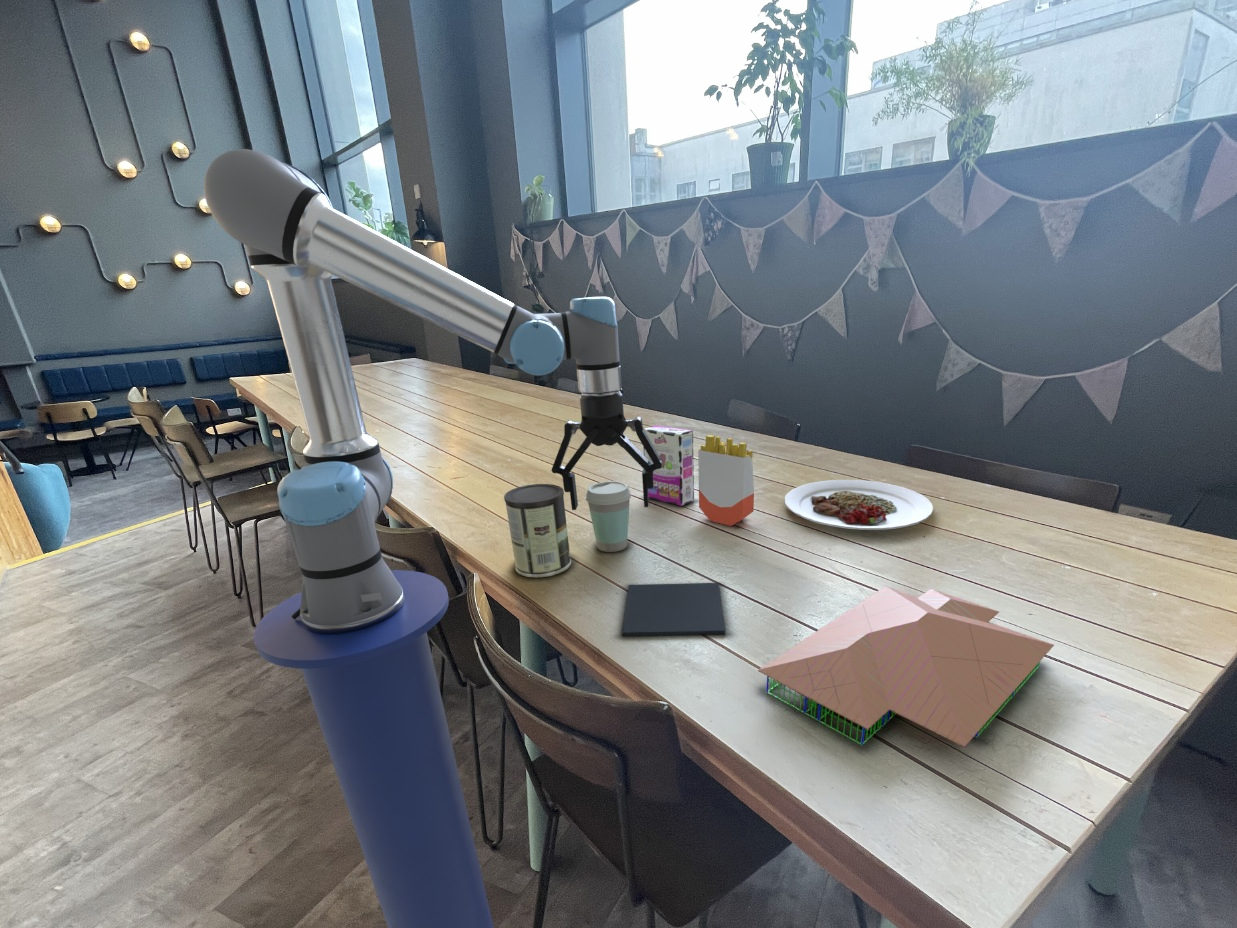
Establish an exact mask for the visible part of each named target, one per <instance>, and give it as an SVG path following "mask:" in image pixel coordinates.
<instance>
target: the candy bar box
mask: <svg viewBox="0 0 1237 928" xmlns="http://www.w3.org/2000/svg"><path fill="white" fill-rule="evenodd" d="M643 429H644V431H645V432H646V434H647V436H648V437H649V439H650V441H651V443H652V444H653V446H654V448H655V450H656V451H657V453H658V455H659V457H660V458H661V460H662V467H661V469H656V470H654V471H653V481H654V485H653V489H648V498H649V499H651V500H654V501H659V502H663V503H668V504H671V505H676V506H680V507H683V506H685V505H687V504H690V503H693V502H695V478H694V477H695V476H694V475H695V474H694V473H695V471H694V470H695V469H694V468H695V467H694V430H691V429H684V428H676V427H670V426H663V425H652V426H649V427H646V428H643ZM642 448H643V455H644V456H645V457H646V458H647V459H648V460H649V461H650V462H652V460H651V458H650V457H649V455H648V453H647V451H646V450H645V448H644V446H643V445H642Z"/></svg>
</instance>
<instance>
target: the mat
mask: <svg viewBox="0 0 1237 928" xmlns="http://www.w3.org/2000/svg"><path fill="white" fill-rule="evenodd" d="M621 635H622V637H642V636H643V637H645V636H646V637H647V636H649V637H650V636H693V635H695V636H698V635H699V636H700V635H702V636H703V635H726V625H725V618H724V611H723V603H722V597H721V589H720V583H719V582H695V583H693V582H692V583H691V582H690V583H689V582H688V583H650V584H647V583H646V584H645V583H644V584H628V590H627V597H626V604H625V611H624V617H623V623H622V630H621Z"/></svg>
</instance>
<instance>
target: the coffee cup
mask: <svg viewBox="0 0 1237 928" xmlns="http://www.w3.org/2000/svg"><path fill="white" fill-rule="evenodd" d="M631 498H632V493H631V490H630V489H629V486H628V484H626V483H625V482H622V481H616V480H615V481H613V480H611V481H610V480H609V481H608V480H607V481H601V482H595V483H593V484H591V485H589V486H588V487H587V491H586V494H585V501H586V502H587V505H588V509H589V514H590V518H591V519H590V520H591V523H592V528H593V532H594V538H595V542H596V547H597V549H598V550H599V551H601V552H605V553H616V552H620V551H622V550H625V549H626V548H627V547H628V540H629V539H628V537H629V520H630V502H631V501H630V499H631Z"/></svg>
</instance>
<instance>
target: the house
mask: <svg viewBox="0 0 1237 928" xmlns="http://www.w3.org/2000/svg"><path fill="white" fill-rule="evenodd" d="M999 613H1000V611H999V610H996V609H993V608H990V607H987V606H984V605H981V604H978V603H975V602H972V601H968V600H966V599H963V598H960V597H957V596H954V595H951V594H948V593H945V592H942V591H939V590H936V589H933V588H929V589H928V590H926V591H925V592H924V593H922V594H921V595H919V596H916V595H913V594H909V593H906V592H905V591H904V592H903V591H901V590H898V589H895V588H893V587H890V586H887V585H884V586H883V587H882V588H880V589H878V590H877V591H876V592H874V593H872V594H871V595H869V596H868V597H866V598H865V599H863V600H862V601H861V602H859V603H857V604H855V605H854V606H853V607H852V608H850V609H848V610H847V611H845V612H844V613H842V614H841V615H839V616H838V617H836V618H835V619H833V620H832V621H830V622H829V623H826V624H825V625H824V626H822V627H821V628H819V629H818V630H816V631H815V632H813V633H812V634H810V635H808V636H807V637H805V638H804V639H802V640H801V641H800V642H798V643H797V644H795V645H794V646H791V648H789V649H788V650H786V651H785V652H783V653H782V654H780V655H779V656H776V657H775V658H773V660H771V661H769V662H768V663H766V664H765V665H763V666H762V667H760V668H759V669H757V672H759V673H760V674H763V675H764V676H766V693H768V694H769V695H771V696H773V697H775V698H776V699H778V700H780V701H781V702H784V703H786V704H787V705H789V706H791V707H793V708H795V709H797V710H798V711H800V712H801V713H804V714H805V715H807V716H809V717H811V718H812V719H815V720H816V721H818V722H820V723H821V724H823V725H825V726H826V727H828V728H830V729H832V730H834V731H835V732H838V733H839V734H841V735H843V736H845V737H847V738H848V739H849V740H852V741H854V742H855V743H857V744H859V745H861V746H863V745H864V744H865V743H866V742H868V740H869V739H870V738H872V737H873V736H874V735H875V734H876V733H877V732H878V731H879V730H880V729H881V728H882V727H884V726H885V725H886V724H887V723H888V722H889V721H890V720H891V719H893V717H894V716H896V715H898V716H901V717H902V718H905V719H906V720H908V721H911V722H913V723H915V724H916V725H918V726H921V727H922V728H925V729H927V730H929V731H930V732H933V733H935V734H937V735H939V736H941V737H943V738H945V739H947V740H949V741H951V742H954V744H957V745H959V746H961V747H963V748H965V747H967V745H968V744H969V743H970V742H971V740H972V739H973V738H974V737H975V738H977V739H978V737H979V736H981V734H982V732H983V731H984V730H985V729H986V728H987V727H988V726H989V724H990V723H991V722H992V721H993V720H994V719H995V718H996V717H997V715H998V714H999V713H1000V712H1001V711H1002V710H1003V708H1005V706H1006V705H1007V704H1008V703H1009V702H1010V701H1011V699H1012V698H1013V697H1014V696H1015V695H1016V694H1017V692H1018V691H1019V690H1020V689H1021V688H1022V687H1023V686H1024V684H1025V683H1026V682H1027V681H1028V680H1029V679H1030V678H1031V676H1032V675H1033V674H1035V672H1036V671H1037V670H1038V668H1039V667H1040V665H1041V661H1042V660H1043V659H1044V658H1045V656H1046V655H1048V653H1049V652H1050V651H1051V650H1052V649H1053V648H1054V646H1055V644H1053V643H1050V642H1048V641H1045V640H1041V639H1039V638H1036V637H1033V636H1030V635H1027V634H1025V633H1022V632H1018V631H1016V630H1013V629H1010V628H1007V627H1004V626H1003V625H998V624H996V623H993V622H990V621H991V620H992V619H994V618H995V617H996V616H997V615H998V614H999ZM776 682H777V684H776ZM780 684H781V685H783V687H782V686H780ZM776 687H777V696H776V695H774V694H775V693H774V690H775V688H776ZM786 687H787V688H789V691H788V690H787V689H786ZM780 689H781V690H783V695H782V697H783V698H780ZM771 690H772V692H770V691H771ZM791 690H793V691H794V693H793V692H791ZM786 692H787V693H788V701H786V700H785V693H786ZM797 693H798V694H800V696H798V695H797ZM791 695H792V696H794V704H791ZM802 696H803V697H804V698H802ZM797 698H798V699H800V700H799V701H800V702H799V708H798V707H797V706H796V701H797V700H796V699H797ZM802 701H804V704H803V710H802ZM817 704H818V706H817ZM807 705H808V708H807ZM824 707H825V708H824ZM813 708H814V713H813ZM816 709H817V718H816ZM809 711H810V714H809V713H807V712H809ZM830 712H831V713H830ZM823 713H824V714H823ZM834 713H835V714H838V715H837V716H836V715H834ZM813 715H814V716H813ZM827 715H830V716H831V718H830V725H828V724H827ZM890 715H891V716H890ZM840 716H841V717H843V718H844V720H843V719H841V718H840ZM833 717H834V718H835V719H837V724H836V728H834V727H833ZM822 718H824V722H823V721H821V719H822ZM846 720H849V721H851V722H850V723H848V722H847V721H846ZM839 721H840V722H842V723H843V730H842V731H843V732H841V731H839ZM846 724H847V725H848V726H850V728H849V729H850V730H849V736H848V735H847V734H845V730H846V729H845V728H846ZM853 724H856V725H857V727H855V726H853ZM876 725H877V728H876ZM860 727H862V729H860ZM852 728H853V729H855V730H857V731H856V738H855V739H854V738H852V737H851V736H852ZM869 729H870V730H869ZM872 730H873V732H872ZM859 731H860V732H861V737H860V738H861V739H860V741H858V735H859ZM865 732H866V735H865ZM868 735H869V736H868ZM864 738H865V739H864Z"/></svg>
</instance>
